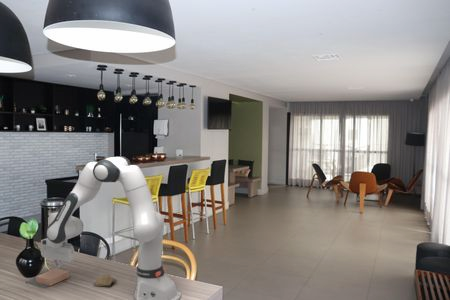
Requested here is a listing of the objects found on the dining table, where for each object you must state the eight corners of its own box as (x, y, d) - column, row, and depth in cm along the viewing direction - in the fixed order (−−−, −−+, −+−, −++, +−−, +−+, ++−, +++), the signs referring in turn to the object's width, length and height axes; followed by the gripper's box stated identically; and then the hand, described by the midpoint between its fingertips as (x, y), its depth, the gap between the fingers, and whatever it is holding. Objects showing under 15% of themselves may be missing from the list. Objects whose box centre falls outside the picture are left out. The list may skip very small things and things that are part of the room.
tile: (69, 271, 190) (55, 268, 194) (50, 279, 179) (36, 276, 183) (69, 277, 191) (55, 274, 195) (50, 286, 180) (36, 282, 184)
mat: (70, 276, 193) (70, 275, 193) (45, 287, 178) (45, 287, 178) (51, 271, 198) (51, 271, 198) (25, 282, 184) (25, 282, 184)
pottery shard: (92, 288, 181) (107, 287, 177) (91, 279, 182) (106, 278, 178) (107, 281, 191) (122, 280, 187) (106, 273, 191) (121, 271, 188)
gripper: (78, 242, 183) (78, 269, 184) (48, 237, 191) (49, 262, 192) (68, 246, 178) (68, 273, 178) (38, 240, 186) (38, 266, 186)
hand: (58, 267), depth 185 cm, fingers closed
